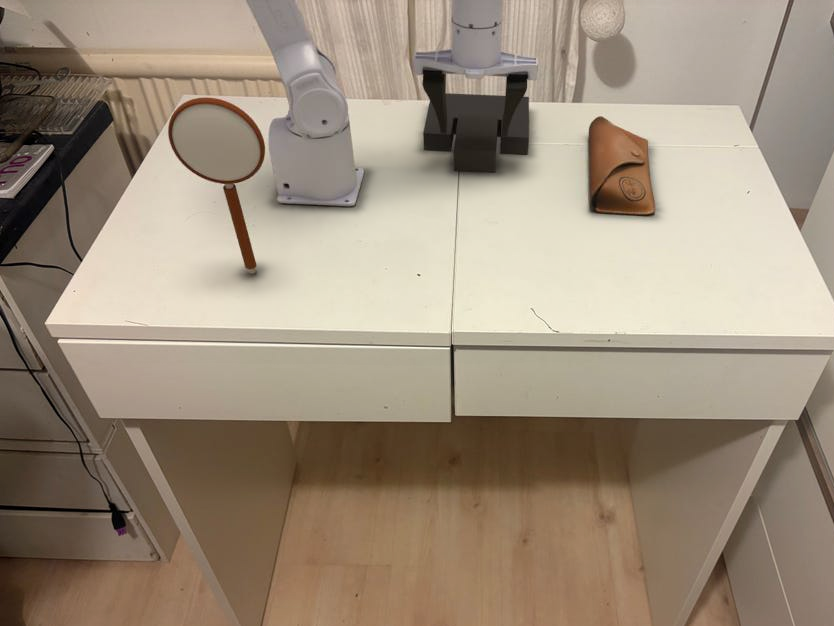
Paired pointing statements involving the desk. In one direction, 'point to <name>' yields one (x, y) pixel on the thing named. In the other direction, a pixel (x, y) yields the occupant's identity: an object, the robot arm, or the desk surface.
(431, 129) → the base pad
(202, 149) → the magnifying glass
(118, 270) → the desk surface
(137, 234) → the desk surface
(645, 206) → the sunglasses case
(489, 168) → the black rectangular block
